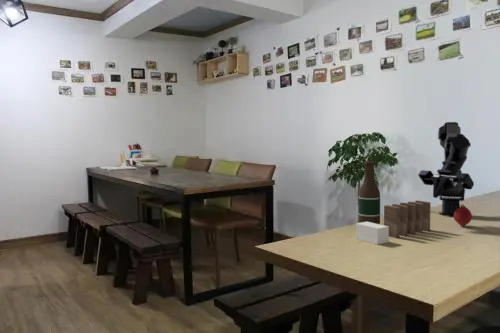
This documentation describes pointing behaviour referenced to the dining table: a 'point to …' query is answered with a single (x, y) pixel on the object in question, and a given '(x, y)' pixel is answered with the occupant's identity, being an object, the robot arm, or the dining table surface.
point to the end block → (372, 232)
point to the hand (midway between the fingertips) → (434, 197)
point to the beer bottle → (369, 197)
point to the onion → (462, 215)
